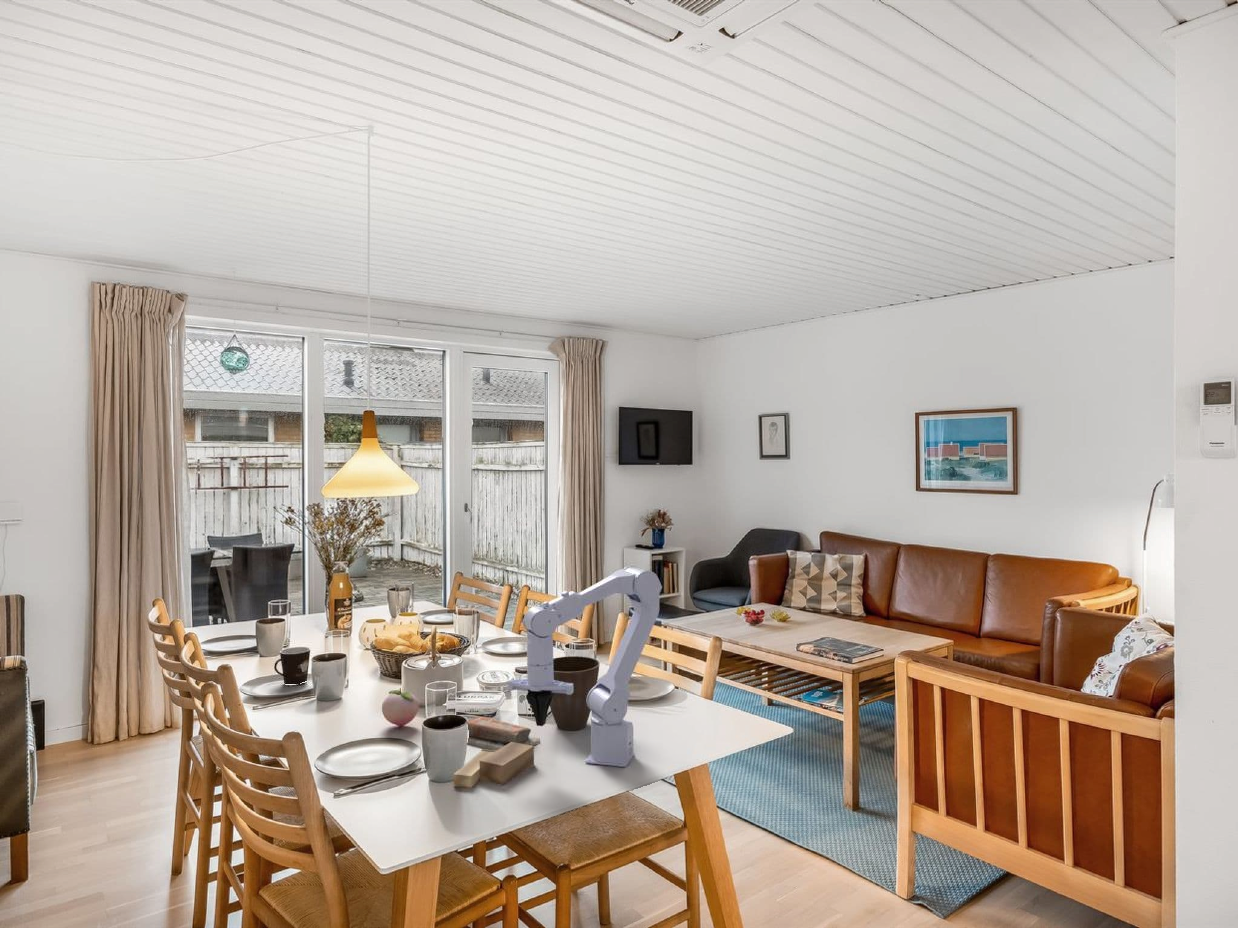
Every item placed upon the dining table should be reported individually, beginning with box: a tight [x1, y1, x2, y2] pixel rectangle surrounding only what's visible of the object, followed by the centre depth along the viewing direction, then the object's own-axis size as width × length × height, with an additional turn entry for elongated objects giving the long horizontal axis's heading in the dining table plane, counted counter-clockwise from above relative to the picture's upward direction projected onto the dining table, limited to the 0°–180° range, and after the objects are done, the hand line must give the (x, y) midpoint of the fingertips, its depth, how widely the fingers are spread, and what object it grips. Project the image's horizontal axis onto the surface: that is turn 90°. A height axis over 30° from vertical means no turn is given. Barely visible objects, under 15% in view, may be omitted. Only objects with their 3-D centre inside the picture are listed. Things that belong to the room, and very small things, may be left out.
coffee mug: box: [273, 646, 311, 684], centre depth 235 cm, size 12×9×10 cm
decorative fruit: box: [381, 687, 420, 728], centre depth 197 cm, size 9×8×10 cm
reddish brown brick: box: [466, 716, 541, 750], centre depth 187 cm, size 18×5×10 cm
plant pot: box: [549, 655, 601, 732], centre depth 197 cm, size 15×15×16 cm
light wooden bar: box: [453, 748, 497, 789], centre depth 168 cm, size 4×14×3 cm, turn 164°
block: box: [479, 742, 535, 787], centre depth 168 cm, size 6×12×4 cm, turn 154°
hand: (541, 724), depth 169 cm, fingers closed
